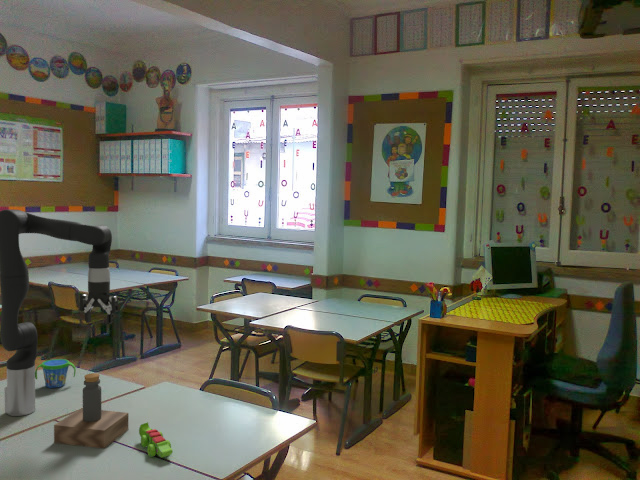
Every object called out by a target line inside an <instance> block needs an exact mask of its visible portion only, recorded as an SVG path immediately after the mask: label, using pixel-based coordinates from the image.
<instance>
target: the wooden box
mask: <svg viewBox="0 0 640 480" xmlns="http://www.w3.org/2000/svg"><path fill="white" fill-rule="evenodd" d="M128 431H129V412H125V411H124V412H123V411H115V410H106V409H105V410H104V409H101V419H100V420H98V421H94V422H85V421H83V407H81V408H79V409H77V410H76V411H75V412H73V413H71V414H70V415H68V416H67V417H65V418H63V419H61V420H59V421H58V422H57V423H54V425H53V443H55V444H60V445H61V444H63V445H71V446H79V447H88V448H98V449H106V448H107V447H108V446H109V445H111V444H112V443H114V442H115V441H116V440H117V439H118V438H120V437H121V436H122V435H123V434H125V433H126V432H128Z"/></svg>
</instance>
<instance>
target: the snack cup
mask: <svg viewBox="0 0 640 480" xmlns="http://www.w3.org/2000/svg"><path fill="white" fill-rule="evenodd" d="M69 366H71V367H72V369H73V370H74V371H73V378H75V376H76V373H77V372H76V371H77V369H76V366H75V364H74V363H72V361H69V360H68V359H64V358H53V359H48V360H45V361H43V362H42V363H40V364H39V365H38V366H36V367H35V380H38V369H39V368H40V367H41V368H42V370H43V378H44V383H45V384H44V385H45V386H46V388H49V389H53V388H54V389H56V388H61V387H63V386H65V385H66V381H67V374H68V370H69V368H70V367H69Z"/></svg>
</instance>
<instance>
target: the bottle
mask: <svg viewBox="0 0 640 480" xmlns="http://www.w3.org/2000/svg"><path fill="white" fill-rule="evenodd" d="M83 377H84V381H83V385H84V387H83V388H82V408H83V421H85V422H94V421H98V420H100V419H101V410H102V386H101V385H100V384H101V380H100V374H99V373H96V372H94V373H87V374H85V375H84V376H83Z"/></svg>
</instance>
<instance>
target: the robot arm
mask: <svg viewBox="0 0 640 480" xmlns="http://www.w3.org/2000/svg"><path fill="white" fill-rule="evenodd" d="M21 234H37V235H39V234H40V235H44V236H49V237H52V238H54V239H58V240H65V241H70V242H71V241H72V242H78V243H81V244H85V245H89V246H92V249H91V252H89V253H88V270H87V271H88V272H87V292H88V294H87V293H85V294H80V295H79V311H81V312H83V313H84V321H85V322H86V323H87V324H89V323H91V322H92V310H93V308H100V309H101V308H102V309H103V310H104V311H105V312H106V313H107V314H106V324H107V325H112V324H113V323H114V314H115V313H118V312H119V297H118V295H115V296H111V295H110V291H111V271H110V252H111V248H112V241H113V234H112V231H111V229H110V228H109V227H108V226H106V225H102V224H101V225H88V224H87V225H86V224H83V223H82V222H77V221H71V220H63V219H58V218H57V219H56V218H48V217H43V216H40V215H39V216H38V215H35V214H32V213H29V212H26V211H24V210H21V209H2V210H0V298H1V299H0V300H1V314H0V315H1V317H0V319H1V320H0V343H1V346H2V347H3V348H4V349H5V351H7V352H14V351H16V352H15V353H14V354H13V355H12V356H11V357H9V358H8V359H7V361H6V387H5V388H4V414H7V415H8V416H11V417H22V416H26V415H30V414H33V413H34V412H35V411H36V378H35V371H36V359H37V356H38V338H39V337H38V331H37V328H36V326H35V324H33V322H29V321H28V322H27V321H26V322H22V323H21V322H20V323H19V312H20V310H21V309H20V308H21V306H22V304H23V302H24V301H25V299H26V297H27V295H28V292H29V288H30V279H29V277H30V274H29V268H28V265H27V263H26V261H25V258H24V257H23V254H22V253H21V249H20V248H21V247H20V235H21ZM87 301H89V302H87Z"/></svg>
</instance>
